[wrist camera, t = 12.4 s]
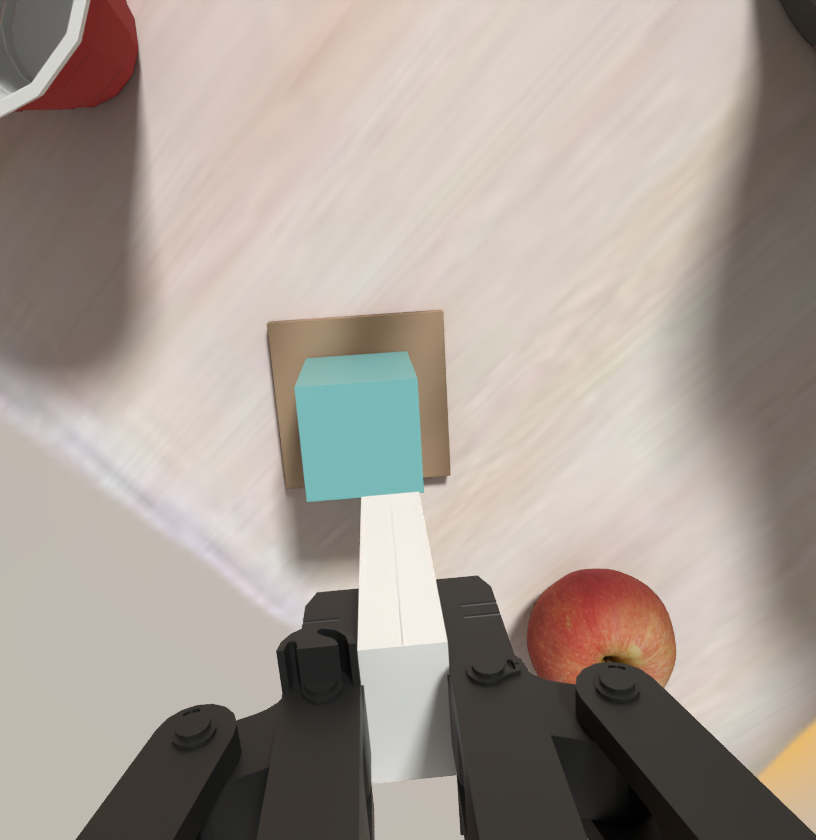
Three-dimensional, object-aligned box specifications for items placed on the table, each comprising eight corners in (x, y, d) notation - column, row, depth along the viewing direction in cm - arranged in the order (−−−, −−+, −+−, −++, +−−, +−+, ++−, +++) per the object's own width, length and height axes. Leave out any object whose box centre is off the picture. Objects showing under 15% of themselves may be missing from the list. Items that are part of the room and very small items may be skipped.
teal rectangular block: (406, 351, 35) (417, 378, 29) (412, 446, 36) (423, 492, 30) (306, 358, 35) (294, 387, 28) (316, 454, 36) (306, 501, 30)
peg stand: (441, 309, 36) (460, 329, 29) (448, 470, 38) (467, 522, 31) (269, 321, 35) (247, 343, 28) (287, 483, 38) (272, 539, 31)
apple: (505, 662, 42) (538, 759, 34) (520, 544, 40) (560, 620, 32) (630, 665, 42) (690, 761, 35) (652, 549, 40) (721, 625, 33)
